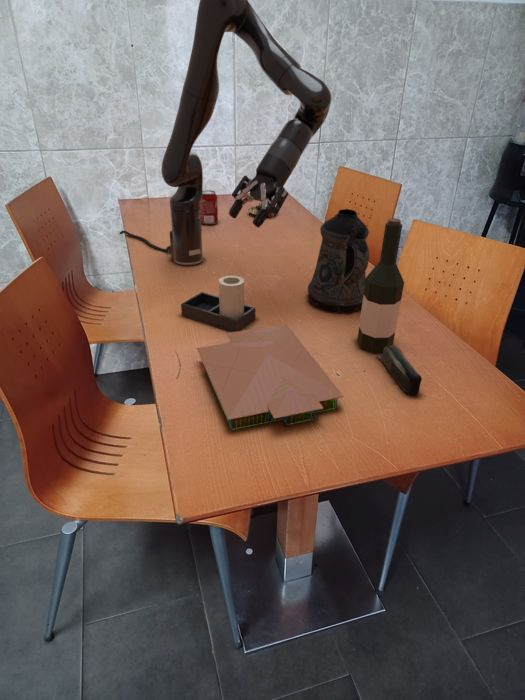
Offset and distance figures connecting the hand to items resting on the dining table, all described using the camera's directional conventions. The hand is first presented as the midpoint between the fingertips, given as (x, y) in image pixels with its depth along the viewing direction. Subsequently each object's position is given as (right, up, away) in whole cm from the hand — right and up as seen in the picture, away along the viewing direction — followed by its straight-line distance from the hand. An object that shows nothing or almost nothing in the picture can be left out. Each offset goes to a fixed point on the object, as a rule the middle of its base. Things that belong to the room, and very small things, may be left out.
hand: (243, 220), depth 118 cm
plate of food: (+4, +26, +90) cm, 94 cm away
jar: (-3, -23, +9) cm, 24 cm away
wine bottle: (+31, -29, +1) cm, 43 cm away
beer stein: (+26, -17, +20) cm, 38 cm away
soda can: (-16, +19, +79) cm, 83 cm away
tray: (-7, -22, +11) cm, 26 cm away
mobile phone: (+33, -36, -10) cm, 50 cm away
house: (+5, -37, -13) cm, 40 cm away
